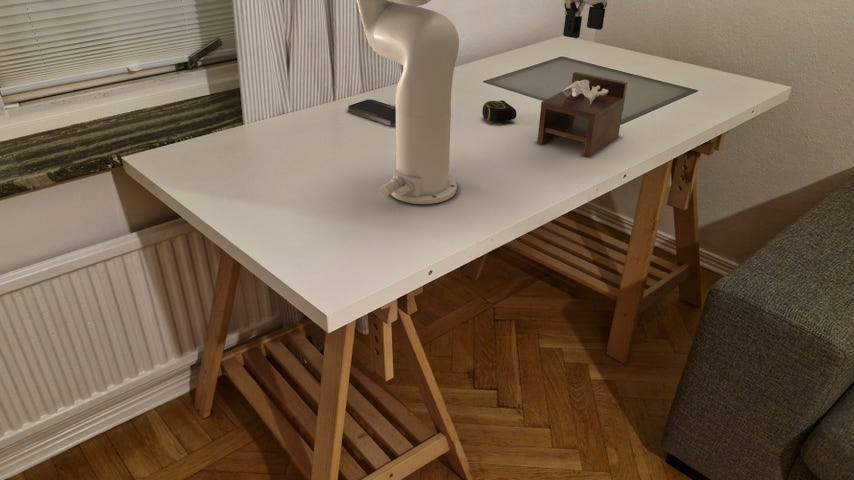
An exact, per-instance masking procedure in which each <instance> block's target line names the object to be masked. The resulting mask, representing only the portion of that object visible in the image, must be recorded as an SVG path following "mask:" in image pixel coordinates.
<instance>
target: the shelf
mask: <svg viewBox="0 0 854 480" xmlns="http://www.w3.org/2000/svg"><path fill="white" fill-rule="evenodd" d="M582 80H588V81H589V88H590V91H591V90H592V86H593V87H597V86H598V85H599V86H600V89H598V90H597V91H598V92H601V91H602V89H605V90H608V93H607V94H606V95H603V96H598V97H595V99H594V100H593V102H592V104H590V100H589V98H587V97H584V95H583V94H580V95H578V96H576V97H574V96H573V95H572V94H571V95H570V96H569V97H567V96H566V95H565V94H564V92H563V90H562V91H560V92H558V93H556V94H554V95H552V96H550V97H549V98H546V99H544V100H542V101H541V104H540V112H539V123H538V131H537V132H538V133H537V141H536V142H537V144H539V145H543V144H545V143H547V142H549V141H550V140H552V139H554V138H556V137H557V136H559V137H562V138H567V139H571V140H573V141H574V140H575V141H578V142H582V143H584V150H583V156H584V157H586V158H590V157H591V156H593V155H594V154H596V153H598V152H599V151H601V150H602V149H603V148H605V147H606V146H608V145H609V144H610V143H612V142H613V141H615V140H616V139H618V138H619V135H620V129H621V123H622V117H623V111H624V106H625V100H626V94H627V89H628V82H626V81H622V80H618V79H612V78H607V77H602V76H598V75H593V74H588V73H583V72H578V71H573V72H572V77H571V84H573V83H574V82H576V81H582Z"/></svg>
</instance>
